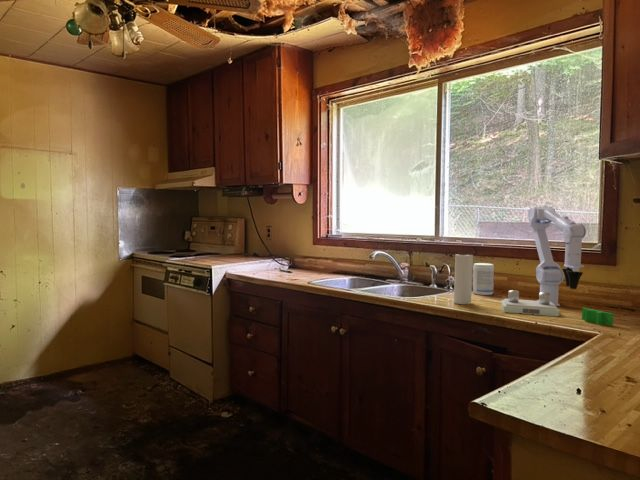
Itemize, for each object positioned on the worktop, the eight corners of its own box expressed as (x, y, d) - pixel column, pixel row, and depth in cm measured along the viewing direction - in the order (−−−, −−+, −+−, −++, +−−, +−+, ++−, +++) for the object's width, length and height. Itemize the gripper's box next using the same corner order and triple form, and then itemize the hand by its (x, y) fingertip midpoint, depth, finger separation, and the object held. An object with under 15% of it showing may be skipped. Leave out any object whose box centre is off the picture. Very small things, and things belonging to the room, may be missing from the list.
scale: (501, 305, 201) (501, 297, 201) (552, 309, 195) (553, 301, 195) (503, 312, 187) (503, 304, 187) (559, 316, 181) (559, 308, 181)
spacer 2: (537, 302, 192) (538, 291, 192) (548, 303, 191) (548, 292, 191) (539, 304, 188) (540, 293, 188) (550, 305, 187) (551, 294, 187)
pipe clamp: (577, 320, 176) (577, 308, 176) (583, 319, 178) (584, 307, 178) (606, 327, 166) (606, 314, 166) (613, 326, 168) (613, 313, 168)
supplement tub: (497, 294, 228) (498, 264, 227) (483, 296, 223) (484, 265, 222) (482, 291, 236) (483, 262, 235) (468, 292, 232) (469, 263, 231)
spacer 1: (507, 300, 195) (508, 289, 195) (518, 301, 194) (518, 290, 194) (508, 302, 192) (508, 291, 191) (518, 303, 190) (519, 292, 190)
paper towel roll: (453, 304, 202) (455, 254, 201) (454, 301, 208) (455, 253, 207) (470, 305, 200) (472, 255, 199) (471, 302, 206) (473, 254, 204)
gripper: (588, 255, 182) (586, 290, 182) (580, 253, 195) (578, 285, 196) (568, 255, 184) (566, 289, 185) (561, 252, 198) (559, 284, 198)
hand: (571, 287), depth 191 cm, fingers open, 7 cm apart
